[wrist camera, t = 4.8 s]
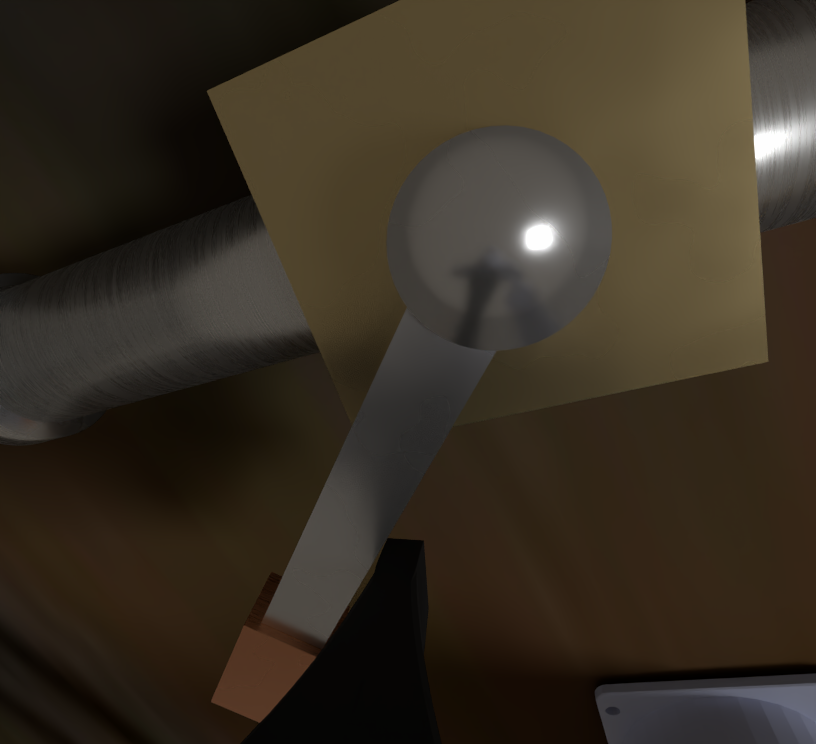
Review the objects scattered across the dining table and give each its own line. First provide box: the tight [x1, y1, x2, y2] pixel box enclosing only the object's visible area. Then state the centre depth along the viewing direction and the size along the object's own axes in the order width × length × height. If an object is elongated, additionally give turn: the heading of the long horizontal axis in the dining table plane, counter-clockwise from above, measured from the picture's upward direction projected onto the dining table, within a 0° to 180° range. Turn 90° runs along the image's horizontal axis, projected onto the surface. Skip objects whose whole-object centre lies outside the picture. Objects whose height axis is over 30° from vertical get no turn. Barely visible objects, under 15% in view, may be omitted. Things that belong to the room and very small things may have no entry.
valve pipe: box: [0, 0, 816, 445], centre depth 10 cm, size 6×26×5 cm, turn 109°
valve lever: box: [211, 125, 612, 723], centre depth 9 cm, size 14×3×1 cm, turn 156°
